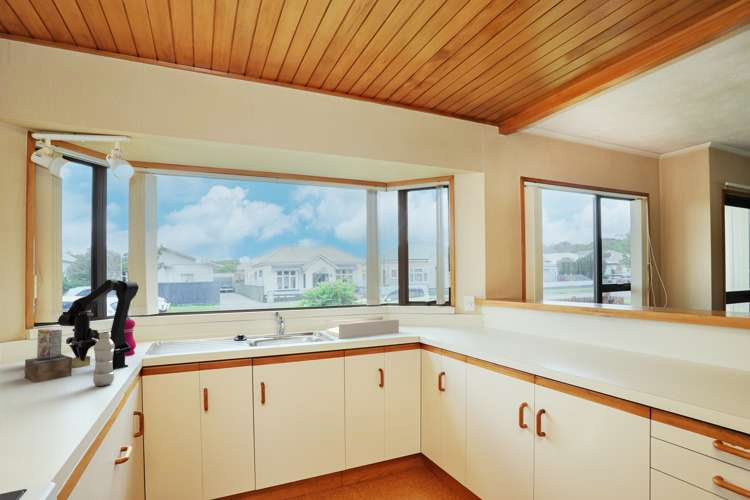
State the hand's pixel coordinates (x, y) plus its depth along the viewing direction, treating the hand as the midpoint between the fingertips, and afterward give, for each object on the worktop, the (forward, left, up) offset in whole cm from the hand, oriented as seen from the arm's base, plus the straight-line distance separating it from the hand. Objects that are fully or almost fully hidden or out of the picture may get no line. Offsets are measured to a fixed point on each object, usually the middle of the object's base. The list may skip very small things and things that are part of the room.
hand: (80, 360), depth 178 cm
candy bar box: (+17, +7, -3) cm, 19 cm away
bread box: (-58, -144, -3) cm, 155 cm away
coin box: (-11, +15, -2) cm, 19 cm away
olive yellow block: (0, 0, -2) cm, 2 cm away
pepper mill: (+7, -23, -3) cm, 24 cm away
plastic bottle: (-45, +8, -3) cm, 45 cm away
